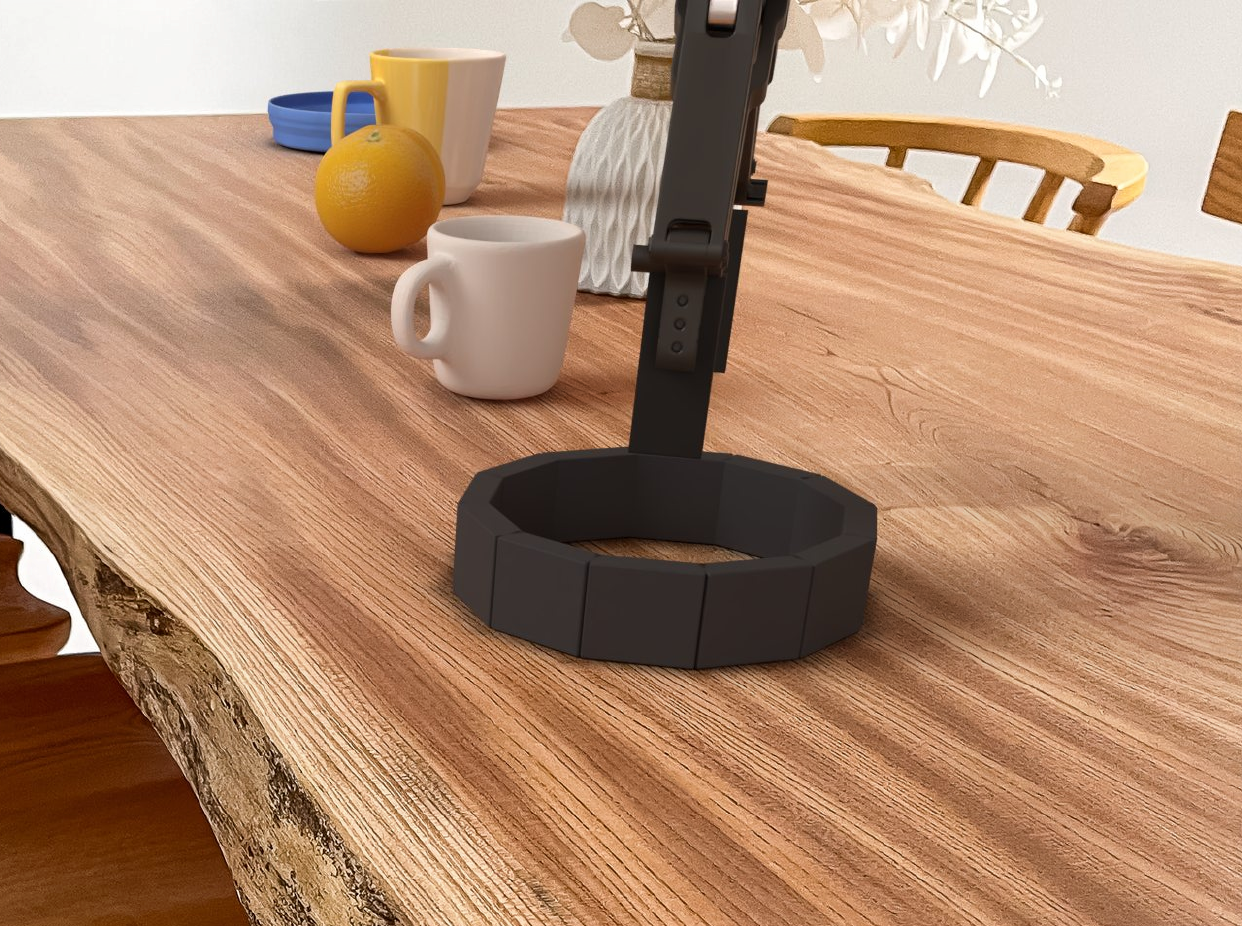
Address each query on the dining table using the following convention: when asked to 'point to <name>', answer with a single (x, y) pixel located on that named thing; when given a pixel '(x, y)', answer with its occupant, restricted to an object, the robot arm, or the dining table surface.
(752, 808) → the dining table surface
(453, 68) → the mug
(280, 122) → the bowl
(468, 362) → the cup
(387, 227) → the fruit
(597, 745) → the dining table surface
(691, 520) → the ring
